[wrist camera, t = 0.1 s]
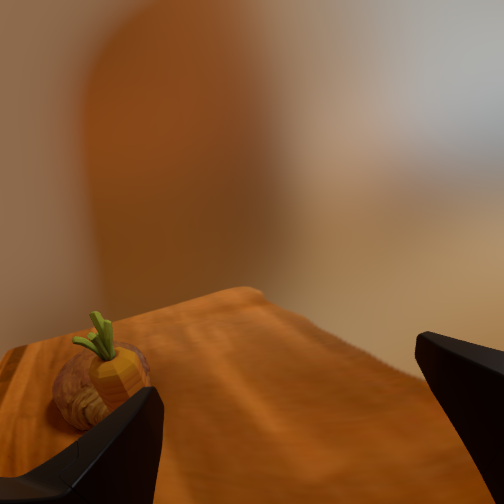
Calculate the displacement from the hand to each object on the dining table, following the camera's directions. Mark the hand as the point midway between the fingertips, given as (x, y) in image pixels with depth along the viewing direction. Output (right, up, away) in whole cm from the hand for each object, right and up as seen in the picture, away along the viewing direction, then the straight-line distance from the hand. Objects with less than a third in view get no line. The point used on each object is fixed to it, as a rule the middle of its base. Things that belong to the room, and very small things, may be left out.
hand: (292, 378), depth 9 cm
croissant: (-20, -15, +23) cm, 35 cm away
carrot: (-11, -16, +16) cm, 25 cm away
